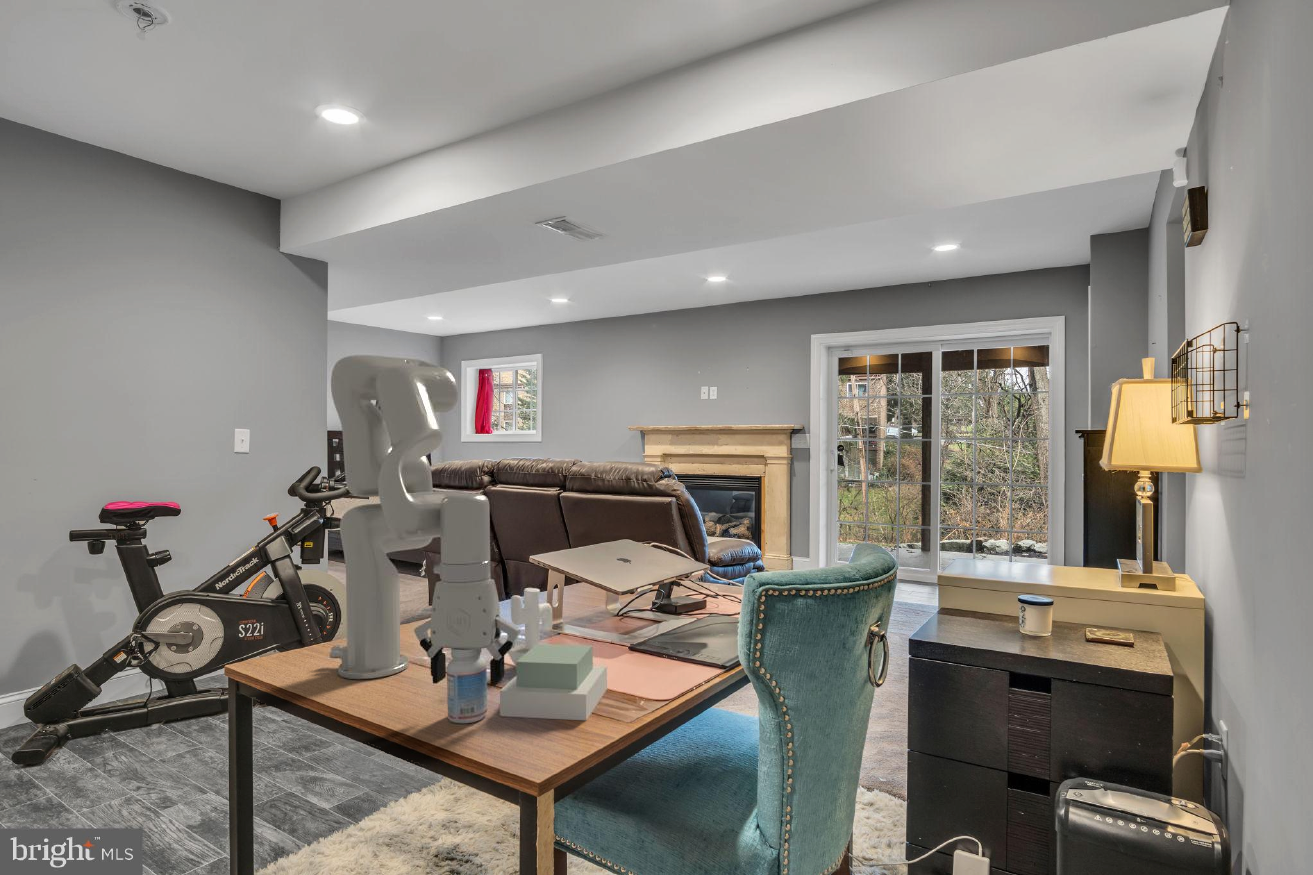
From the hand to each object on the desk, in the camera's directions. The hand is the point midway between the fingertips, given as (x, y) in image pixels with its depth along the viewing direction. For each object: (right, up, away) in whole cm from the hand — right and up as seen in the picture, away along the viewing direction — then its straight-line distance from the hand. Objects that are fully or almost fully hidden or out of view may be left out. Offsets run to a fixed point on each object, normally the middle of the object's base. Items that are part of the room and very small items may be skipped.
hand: (467, 681), depth 110 cm
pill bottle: (0, -6, 0) cm, 6 cm away
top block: (+13, -1, +6) cm, 14 cm away
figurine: (+6, -6, +24) cm, 26 cm away
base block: (+13, -5, +6) cm, 15 cm away
